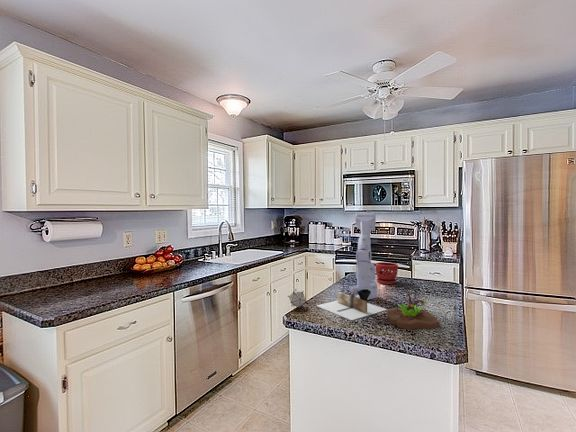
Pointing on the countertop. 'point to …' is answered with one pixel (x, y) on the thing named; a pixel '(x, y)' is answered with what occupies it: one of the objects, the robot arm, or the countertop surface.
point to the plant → (411, 316)
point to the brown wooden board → (360, 304)
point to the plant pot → (386, 272)
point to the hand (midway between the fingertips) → (363, 306)
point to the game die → (297, 298)
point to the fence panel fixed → (345, 299)
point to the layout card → (350, 310)
